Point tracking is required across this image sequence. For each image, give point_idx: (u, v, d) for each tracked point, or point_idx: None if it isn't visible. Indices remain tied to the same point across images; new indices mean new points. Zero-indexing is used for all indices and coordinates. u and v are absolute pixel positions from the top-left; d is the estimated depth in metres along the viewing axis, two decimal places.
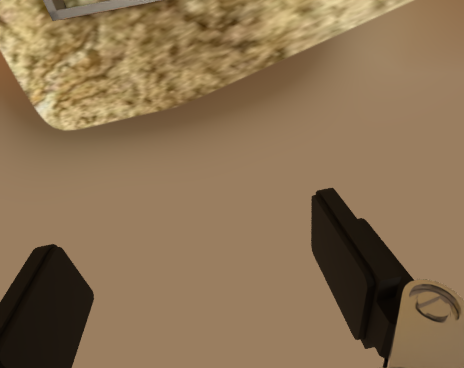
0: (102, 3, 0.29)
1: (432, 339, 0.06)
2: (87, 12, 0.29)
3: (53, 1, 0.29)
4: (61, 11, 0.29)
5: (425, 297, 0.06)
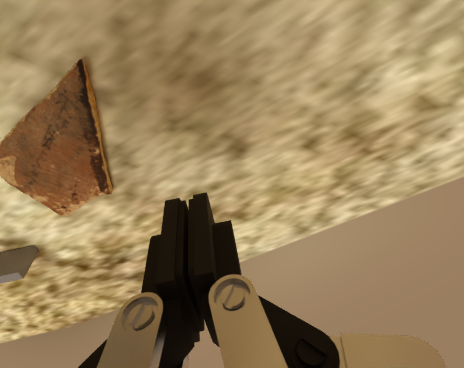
0: None
1: (243, 326, 0.06)
2: None
3: None
4: None
5: (225, 294, 0.07)
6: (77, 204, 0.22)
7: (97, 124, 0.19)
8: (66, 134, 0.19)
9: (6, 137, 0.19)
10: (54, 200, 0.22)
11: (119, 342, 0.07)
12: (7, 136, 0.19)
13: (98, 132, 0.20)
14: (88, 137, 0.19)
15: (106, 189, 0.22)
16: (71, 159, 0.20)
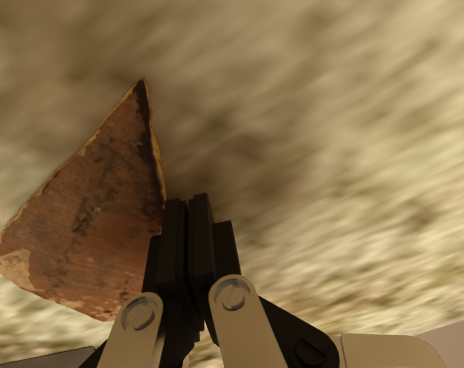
0: None
1: (243, 326, 0.06)
2: None
3: None
4: None
5: (225, 294, 0.07)
6: None
7: (164, 189, 0.11)
8: (113, 210, 0.11)
9: (12, 222, 0.11)
10: (93, 304, 0.13)
11: (119, 342, 0.07)
12: (13, 220, 0.11)
13: None
14: (149, 212, 0.11)
15: None
16: (121, 247, 0.12)
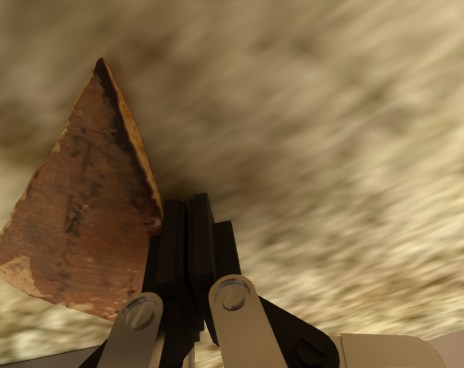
0: None
1: (243, 326, 0.06)
2: None
3: None
4: None
5: (225, 294, 0.07)
6: None
7: (151, 177, 0.10)
8: (101, 205, 0.10)
9: (5, 229, 0.11)
10: (103, 305, 0.13)
11: (119, 342, 0.07)
12: (6, 227, 0.11)
13: (154, 191, 0.11)
14: (138, 204, 0.11)
15: None
16: (117, 244, 0.11)
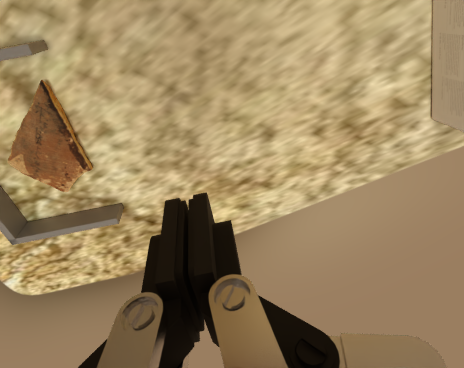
0: (55, 231, 0.33)
1: (243, 326, 0.06)
2: (43, 237, 0.33)
3: (12, 232, 0.33)
4: (19, 238, 0.33)
5: (225, 294, 0.07)
6: (71, 181, 0.32)
7: (65, 121, 0.29)
8: (48, 132, 0.29)
9: (13, 142, 0.29)
10: (55, 181, 0.31)
11: (119, 342, 0.07)
12: (14, 141, 0.29)
13: (68, 126, 0.29)
14: (62, 131, 0.29)
15: (86, 167, 0.31)
16: (57, 149, 0.30)
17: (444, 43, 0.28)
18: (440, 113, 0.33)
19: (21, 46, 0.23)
